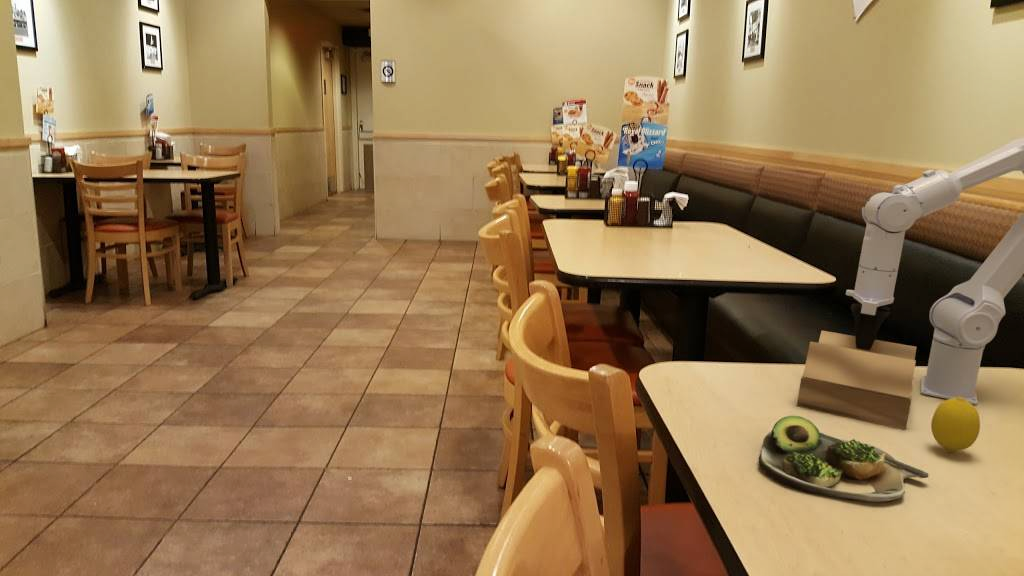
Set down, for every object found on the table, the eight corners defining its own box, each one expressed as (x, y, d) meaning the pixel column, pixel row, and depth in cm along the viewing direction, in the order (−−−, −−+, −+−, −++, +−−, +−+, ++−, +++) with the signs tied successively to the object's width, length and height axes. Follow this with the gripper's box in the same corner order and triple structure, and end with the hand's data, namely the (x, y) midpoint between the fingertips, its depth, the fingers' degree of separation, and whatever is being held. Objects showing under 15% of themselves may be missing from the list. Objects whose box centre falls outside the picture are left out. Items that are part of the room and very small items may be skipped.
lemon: (980, 464, 97) (992, 407, 95) (934, 458, 98) (945, 402, 96) (964, 446, 102) (975, 392, 100) (921, 441, 103) (931, 387, 101)
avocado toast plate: (920, 461, 98) (926, 429, 97) (934, 526, 82) (942, 488, 81) (767, 430, 105) (771, 400, 104) (752, 484, 89) (757, 448, 88)
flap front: (810, 342, 114) (810, 341, 114) (915, 361, 107) (915, 360, 107) (803, 377, 113) (803, 376, 112) (909, 398, 106) (909, 397, 106)
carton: (808, 383, 124) (812, 358, 123) (908, 404, 117) (913, 377, 116) (796, 405, 114) (800, 378, 113) (905, 429, 107) (911, 400, 106)
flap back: (814, 356, 123) (814, 358, 124) (911, 374, 117) (911, 376, 117) (821, 330, 126) (821, 332, 127) (916, 346, 120) (916, 348, 120)
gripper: (855, 258, 127) (841, 334, 130) (846, 270, 115) (832, 353, 118) (900, 265, 124) (885, 342, 127) (897, 277, 112) (880, 363, 115)
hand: (863, 348), depth 122 cm, fingers closed, pressing on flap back
